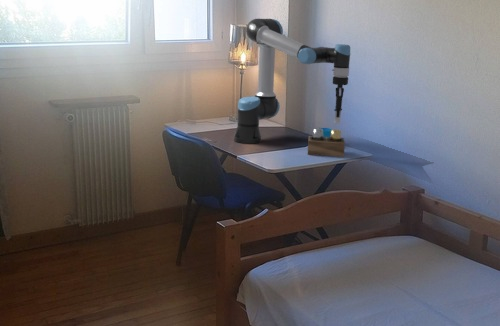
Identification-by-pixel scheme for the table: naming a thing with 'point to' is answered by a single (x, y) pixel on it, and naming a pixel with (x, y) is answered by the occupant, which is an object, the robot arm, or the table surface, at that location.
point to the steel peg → (317, 134)
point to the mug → (326, 132)
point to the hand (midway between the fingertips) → (337, 123)
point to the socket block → (326, 147)
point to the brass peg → (335, 135)
